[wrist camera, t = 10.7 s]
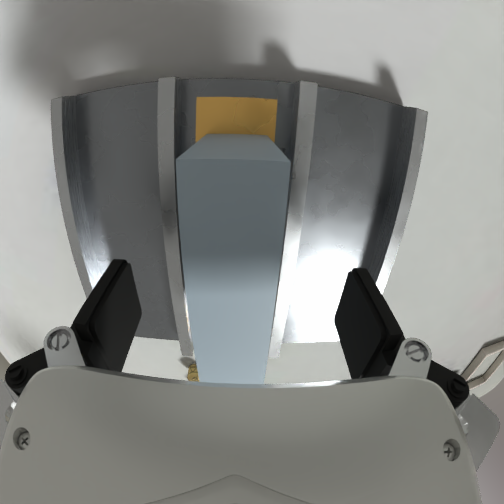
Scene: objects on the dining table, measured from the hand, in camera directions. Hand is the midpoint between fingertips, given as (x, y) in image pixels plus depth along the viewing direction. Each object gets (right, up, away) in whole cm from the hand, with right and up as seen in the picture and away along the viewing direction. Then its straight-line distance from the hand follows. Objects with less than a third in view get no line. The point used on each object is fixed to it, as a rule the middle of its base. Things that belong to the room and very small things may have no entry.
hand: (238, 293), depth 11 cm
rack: (-1, +3, +5) cm, 6 cm away
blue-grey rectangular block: (0, +2, +4) cm, 5 cm away
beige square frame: (+41, -18, +20) cm, 49 cm away
